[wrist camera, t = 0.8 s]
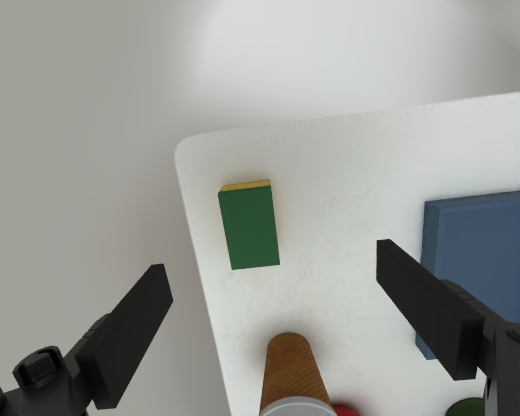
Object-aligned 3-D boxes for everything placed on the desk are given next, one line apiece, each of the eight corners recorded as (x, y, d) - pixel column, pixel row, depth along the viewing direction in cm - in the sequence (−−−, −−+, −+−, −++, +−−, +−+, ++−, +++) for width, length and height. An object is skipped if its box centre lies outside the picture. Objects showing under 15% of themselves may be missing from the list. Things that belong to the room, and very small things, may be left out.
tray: (424, 201, 30) (439, 208, 27) (562, 185, 29) (591, 190, 26) (415, 344, 36) (426, 360, 33) (528, 334, 35) (548, 349, 33)
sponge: (223, 185, 29) (217, 193, 25) (269, 179, 29) (270, 187, 25) (235, 253, 32) (231, 270, 28) (278, 248, 32) (280, 265, 28)
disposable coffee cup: (293, 311, 34) (309, 401, 23) (334, 352, 36) (366, 454, 25) (242, 346, 36) (233, 445, 25) (283, 383, 38) (292, 491, 27)
